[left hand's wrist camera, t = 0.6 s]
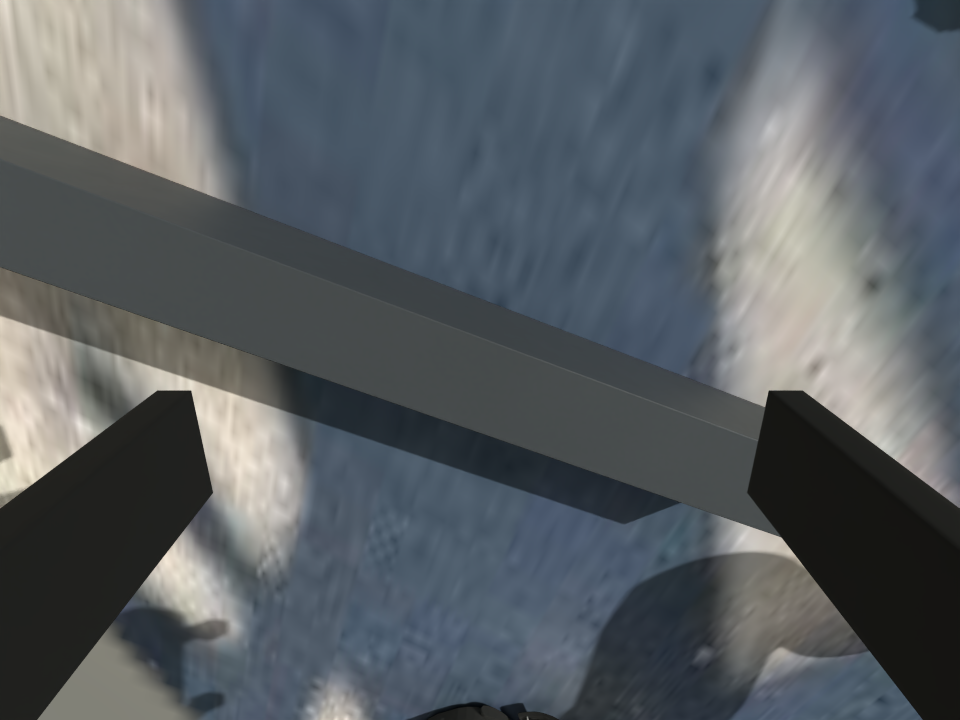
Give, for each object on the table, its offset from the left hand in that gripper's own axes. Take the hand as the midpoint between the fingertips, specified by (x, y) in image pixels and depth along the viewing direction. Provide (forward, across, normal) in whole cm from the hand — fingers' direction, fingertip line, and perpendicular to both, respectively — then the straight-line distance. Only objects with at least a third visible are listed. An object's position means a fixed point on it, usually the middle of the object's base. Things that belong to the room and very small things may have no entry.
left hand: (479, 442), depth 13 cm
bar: (+25, -6, -4) cm, 26 cm away
